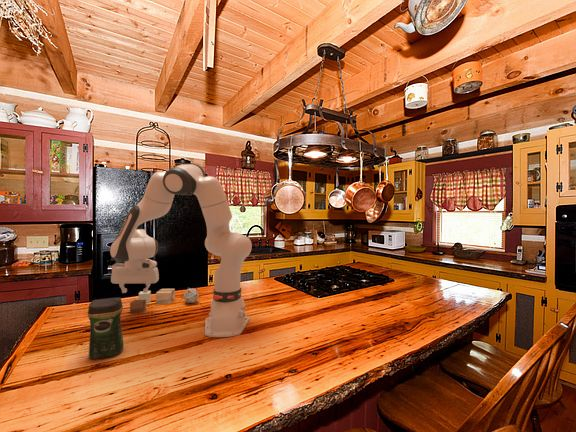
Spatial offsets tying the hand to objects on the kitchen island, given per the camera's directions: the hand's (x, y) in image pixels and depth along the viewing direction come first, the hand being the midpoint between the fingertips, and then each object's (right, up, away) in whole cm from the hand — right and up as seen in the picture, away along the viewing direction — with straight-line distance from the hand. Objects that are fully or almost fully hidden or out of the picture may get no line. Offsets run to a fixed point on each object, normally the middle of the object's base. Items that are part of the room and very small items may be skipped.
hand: (135, 292), depth 127 cm
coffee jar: (+11, -11, -36) cm, 39 cm away
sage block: (-4, -9, +15) cm, 18 cm away
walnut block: (+1, -10, +2) cm, 10 cm away
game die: (+22, -10, +13) cm, 27 cm away
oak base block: (+8, -9, +15) cm, 19 cm away
